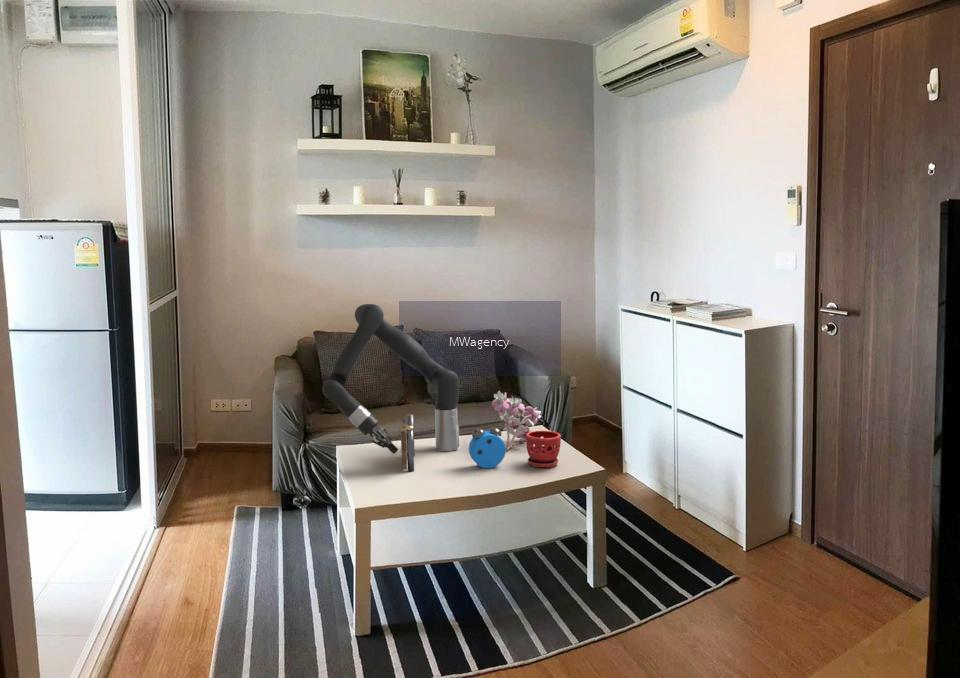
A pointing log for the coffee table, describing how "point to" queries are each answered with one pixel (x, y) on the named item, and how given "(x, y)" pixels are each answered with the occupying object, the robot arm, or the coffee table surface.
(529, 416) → the flower
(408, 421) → the hinge post
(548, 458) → the plant pot
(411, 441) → the post
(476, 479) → the coffee table surface
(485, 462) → the alarm clock
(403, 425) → the gate
